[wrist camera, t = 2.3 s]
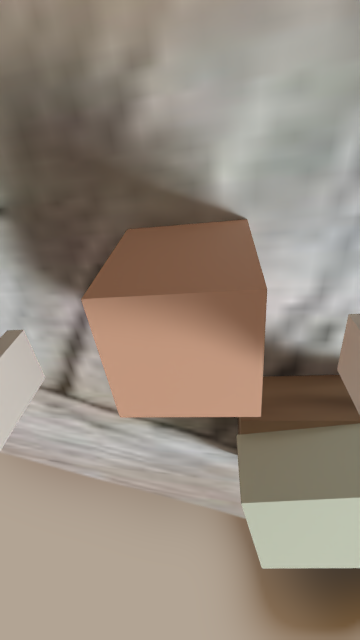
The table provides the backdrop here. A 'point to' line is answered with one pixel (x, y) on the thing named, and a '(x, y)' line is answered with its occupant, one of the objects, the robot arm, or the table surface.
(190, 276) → the clay block
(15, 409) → the robot arm
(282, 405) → the riser lower
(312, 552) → the block
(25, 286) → the table surface
